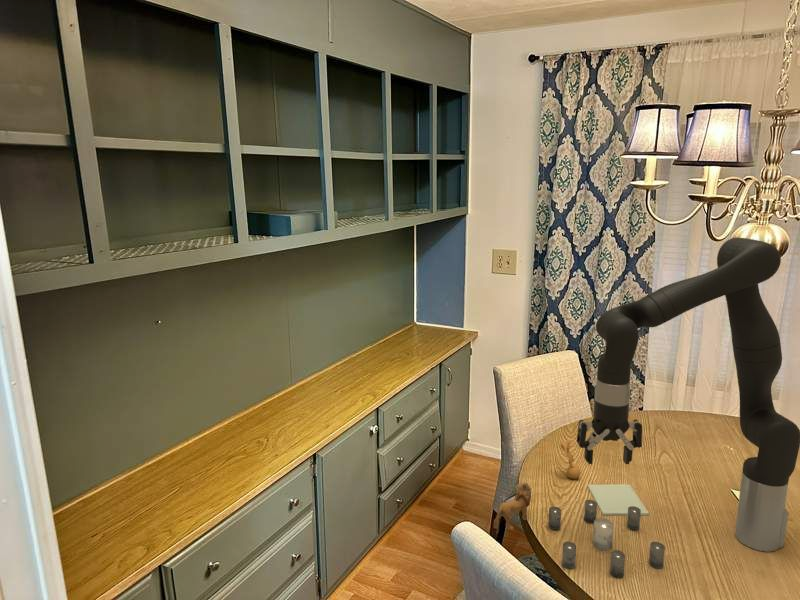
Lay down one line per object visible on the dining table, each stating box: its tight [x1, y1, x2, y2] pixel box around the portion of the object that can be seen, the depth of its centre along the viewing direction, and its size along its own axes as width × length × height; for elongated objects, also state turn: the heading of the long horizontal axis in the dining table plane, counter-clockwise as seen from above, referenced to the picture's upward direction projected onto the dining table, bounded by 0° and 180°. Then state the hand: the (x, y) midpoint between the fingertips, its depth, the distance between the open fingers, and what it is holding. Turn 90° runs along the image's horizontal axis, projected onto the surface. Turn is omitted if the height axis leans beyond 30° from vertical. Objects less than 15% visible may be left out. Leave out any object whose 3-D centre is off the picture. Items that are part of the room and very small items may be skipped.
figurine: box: [560, 439, 582, 480], centre depth 163 cm, size 8×6×12 cm
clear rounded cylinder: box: [592, 517, 614, 552], centre depth 133 cm, size 4×4×6 cm
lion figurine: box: [493, 481, 532, 534], centre depth 143 cm, size 15×5×9 cm, turn 138°
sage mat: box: [587, 483, 650, 516], centre depth 152 cm, size 12×14×1 cm
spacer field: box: [548, 499, 666, 580], centre depth 133 cm, size 23×23×5 cm
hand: (607, 462), depth 129 cm, fingers open, 8 cm apart
